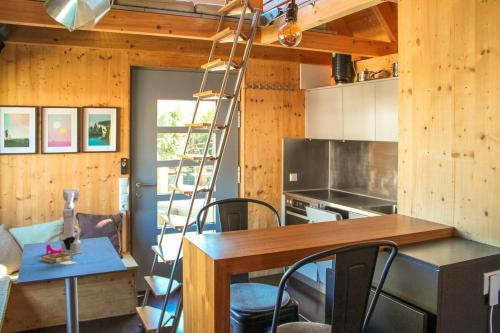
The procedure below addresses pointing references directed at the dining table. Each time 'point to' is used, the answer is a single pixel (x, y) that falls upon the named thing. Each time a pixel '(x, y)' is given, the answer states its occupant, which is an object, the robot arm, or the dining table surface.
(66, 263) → the mat
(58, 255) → the offcut upper
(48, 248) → the toy block
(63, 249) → the sheet
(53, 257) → the wooden tray
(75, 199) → the robot arm
